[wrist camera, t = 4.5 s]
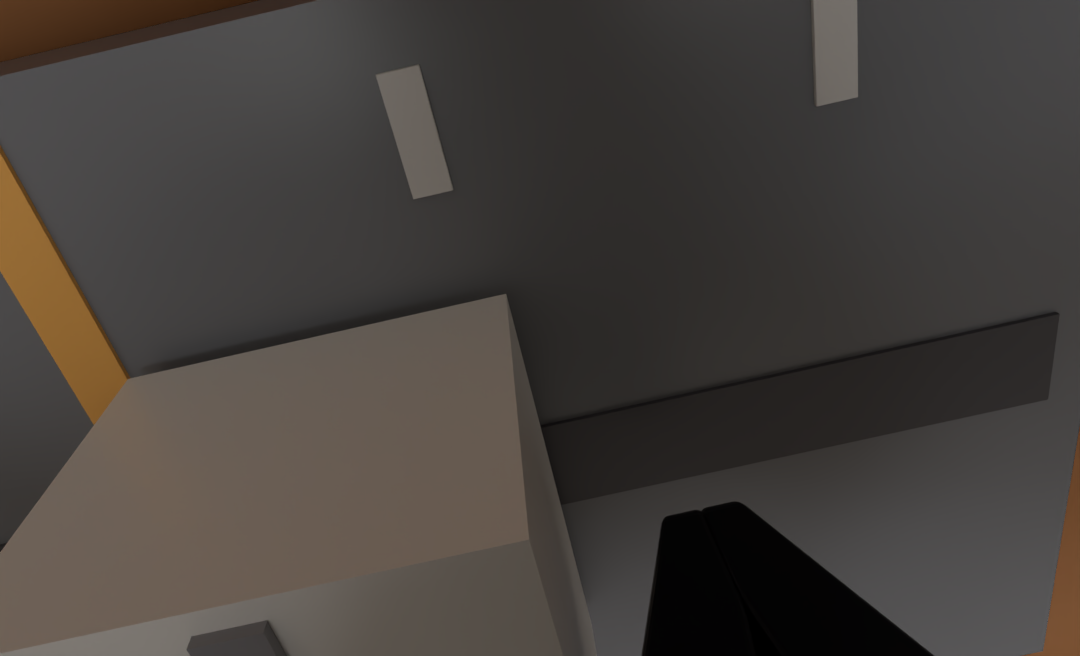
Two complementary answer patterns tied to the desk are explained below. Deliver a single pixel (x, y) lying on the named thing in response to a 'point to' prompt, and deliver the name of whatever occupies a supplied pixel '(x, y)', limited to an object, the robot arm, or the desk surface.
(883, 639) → the robot arm
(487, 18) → the fader console
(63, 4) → the desk surface
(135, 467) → the fader knob
